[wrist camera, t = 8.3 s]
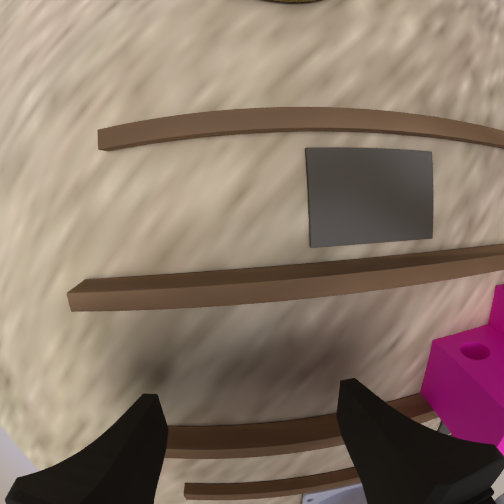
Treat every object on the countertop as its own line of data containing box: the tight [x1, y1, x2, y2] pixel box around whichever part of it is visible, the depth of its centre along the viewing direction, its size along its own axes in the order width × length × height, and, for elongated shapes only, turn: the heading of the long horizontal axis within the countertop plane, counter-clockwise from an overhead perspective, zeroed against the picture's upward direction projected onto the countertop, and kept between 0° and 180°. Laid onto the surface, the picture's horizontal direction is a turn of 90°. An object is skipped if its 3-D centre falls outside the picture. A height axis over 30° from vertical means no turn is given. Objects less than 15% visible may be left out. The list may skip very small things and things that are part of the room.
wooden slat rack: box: [67, 107, 504, 500], centre depth 12 cm, size 22×33×4 cm
